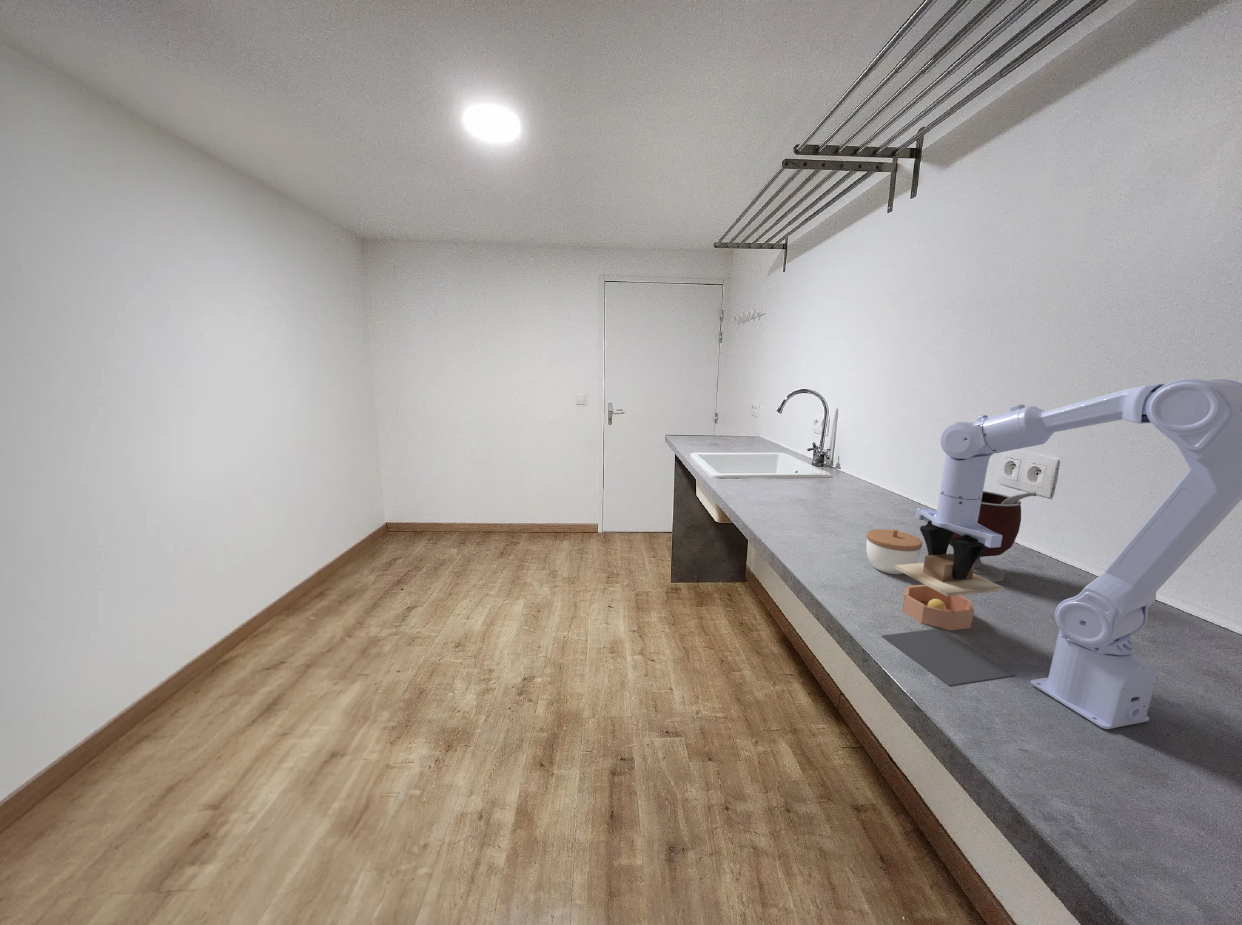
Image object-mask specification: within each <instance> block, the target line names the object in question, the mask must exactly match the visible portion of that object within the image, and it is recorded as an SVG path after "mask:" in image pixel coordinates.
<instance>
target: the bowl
mask: <svg viewBox="0 0 1242 925" xmlns="http://www.w3.org/2000/svg"><path fill="white" fill-rule="evenodd" d="M902 599H903V600H902V609H901V610H902V611H901V612H903V613H905V614H906V615H908V616H909V617H911V618H913V619H914V620H916V622H917V621H918V622H919V624H920V623H921V624H924V625H927V626H931V627H935V628H938V629H939V628H941V629H943V630H948V631H957V630H966V629H971V628H972V624H973V619H974V614H975V608H974V605H973V601H972V600H971V599H969V598H966V597H965V596H964V595H958V596H949V597H947V596H945V595H943V594H942V593H940V592H938V591H936V590H934V589H932V588H930V587H929V586H927V585H925V584H916V585H906V586H904V593H903V598H902ZM932 599H939V600H941V601H942V602H944V604H945V606H946V610H942V609H938V608H934V607H930V606H928V602H929V601H930V600H932Z"/></svg>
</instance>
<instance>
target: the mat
mask: <svg viewBox="0 0 1242 925" xmlns="http://www.w3.org/2000/svg"><path fill="white" fill-rule="evenodd" d="M881 637H882V638H883V639H885V640H886V641H887V642H888V643H890V644H891V645H893V646H894V647H895V648H896V649H898V650H899V651H900V652H902V653H903V654H905V656H907V657H908V658H910V659H911V660H913V661H914V662H916V663H917V664H918V665H919V666H921V667H922V668H924V669H925V670H927V672H929V673H930V674H932V675H933V676H934V677H935V678H937V679H938V680H940V682H942V683H944V684H945V685H947V686H948V687H952V686H958V685H965V684H971V683H978V682H984V681H990V680H998V679H1004V678H1011V677H1016V676H1017V674H1016V673H1013V672H1012V671H1010V670H1009V669H1007V668H1006V667H1004V666H1002V664H999V663H997V662H996V661H994V660H993V659H991V658H989V657H988V656H986V655H984V654H983V653H981V652H980V651H978V650H976V649H975V648H973V647H971V646H970V645H969V644H967V643H965V642H964V641H962V640H961V639H958V638H957V637H956V636H954V635H952V634H951V633H949V632H948V631H946V630H945V629H943V628H939V627H938V628H931V629H926V630H916V631H909V632H901V633H890V634H884V635H881Z"/></svg>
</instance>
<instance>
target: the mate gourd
mask: <svg viewBox="0 0 1242 925" xmlns="http://www.w3.org/2000/svg"><path fill="white" fill-rule="evenodd" d="M1029 497H1037V492H1035V491H1034V492H1033V491H1032V492H1024V493H1019V494H1015V495H1011V496H1009V495H1006V494H1003V493H997V492H994V491H993V492H992V491H988V490H987V491H986V490H983V494H982V500H981V505H980V511H979V517H978V522H977V523H978V524H980V525H982V526H984V527H986V528H988V529H989V530H991V531H993V532H995V533H998V534H1000V535H1002V541H1001V547H995V548H987V549H986V550H985V551H984V552H983V553H982V554H981V555H980V556H979V558H978V559H977V560H976V561H975V566H974V571H973V573H974V574H976V575H978V576H980V577H983V578H985V579H987V580H989V581H991V582H993V583H999V582H1003V581H1005V580H1004V579H1005V576H1006V574H1005V573H1004V571H1003V570H1001V569H1000V568H999V567H996V566H994V565H992V564H989V563H987V562H984V561H982V560H981V558H984V557H995V556H1000V555H1003V554H1004V553H1005V552H1006V551H1008V550H1010V549H1011V548H1012V547H1013V545H1014V543H1015V542H1016V539H1017V537H1018V534H1019V532H1020V528H1021V523H1022V505H1021V504H1022V501H1020V500H1022V499H1024V498H1025V499H1026V498H1029ZM952 538H963V535H960V534H957V533H954V534H953V536H952ZM952 538H951V539H952ZM949 546H951V547H952V548H953V545H952V541H950V543H949Z"/></svg>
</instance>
